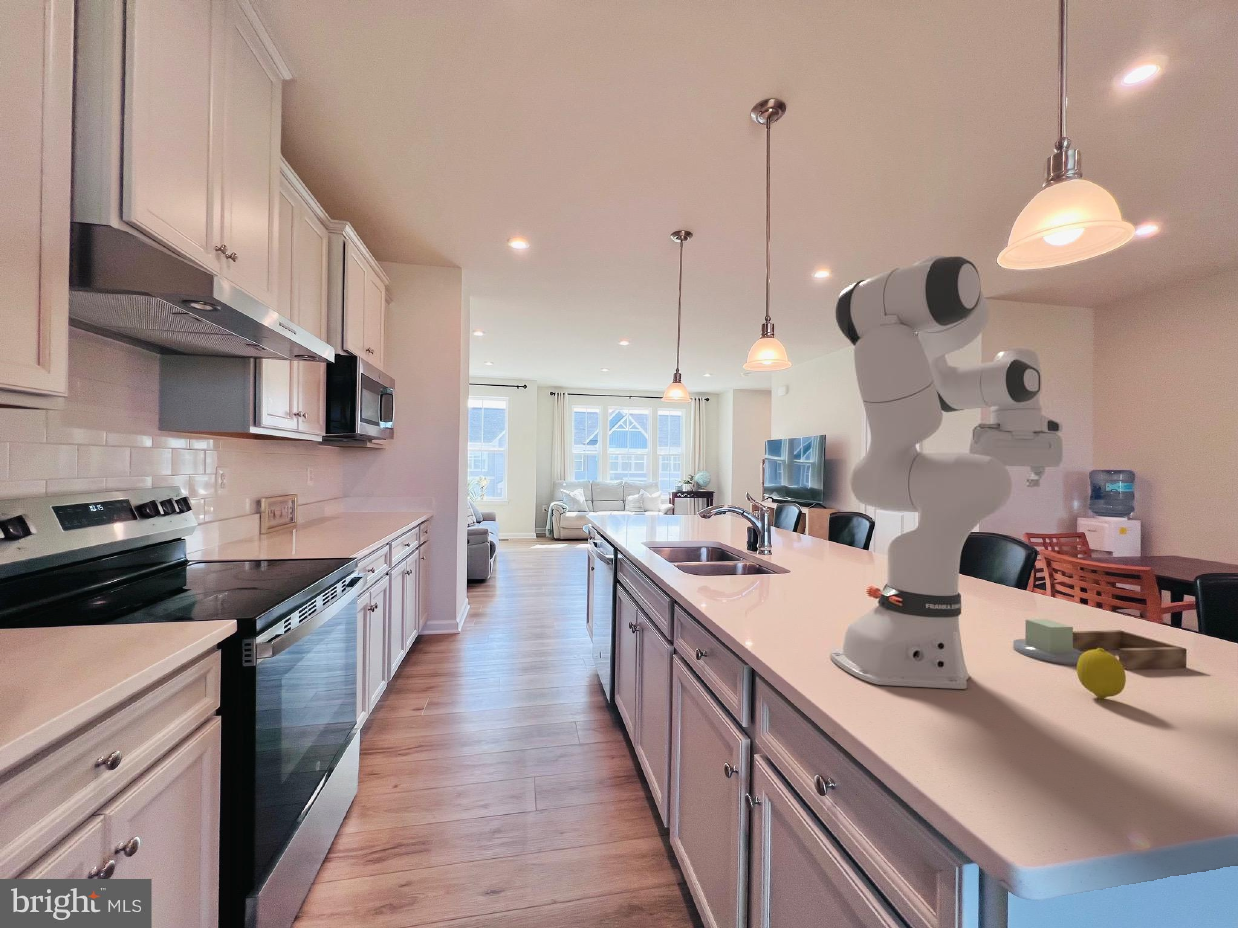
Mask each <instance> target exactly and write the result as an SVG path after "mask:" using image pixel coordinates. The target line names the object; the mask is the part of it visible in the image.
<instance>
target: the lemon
mask: <svg viewBox="0 0 1238 928" xmlns="http://www.w3.org/2000/svg"><path fill="white" fill-rule="evenodd" d="M1083 652H1084V653H1083V654H1082V655H1081V656H1080V658H1079V660H1078V663H1077V665H1076V674H1077V677H1078V679H1079V682H1080V683H1081V685H1082V686H1083V687H1084V688H1085V689H1086V690H1087V691H1089V692H1091V693H1092V694H1094V695H1095V696H1096V697H1097V698H1098V699H1100V700H1104V699H1106V698H1109V697H1114V696H1117V695H1120V694H1121V693H1122V692H1123V690H1124V689H1125V686H1126V681H1127V679H1126V678H1127V677H1126V670H1125V669H1124V668H1123V666H1122V664H1121V662H1120V661H1119V658H1118V657H1116V656H1115V655H1114V654H1112V653H1110V652H1108V651H1106V649H1102V648H1097V649H1094V650H1085V651H1083Z"/></svg>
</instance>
